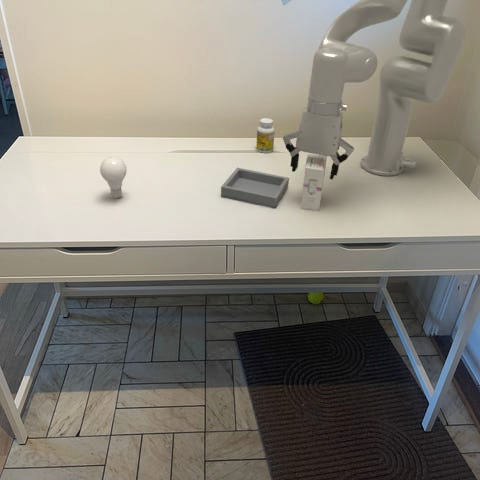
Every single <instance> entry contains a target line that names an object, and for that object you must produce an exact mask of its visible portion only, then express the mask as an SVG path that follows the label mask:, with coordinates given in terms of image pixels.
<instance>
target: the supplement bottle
mask: <svg viewBox="0 0 480 480" xmlns="http://www.w3.org/2000/svg"><path fill="white" fill-rule="evenodd" d="M273 123H274V120H273V119H272V118H268V117H267V118H266V117H263V118H261V119H260V120H259V125H258V127H257V129H256V151H257V152H259V153H264V154H268V153H271V152H273V151H274V147H275V146H274V143H275V131H276V130H275V127H274V126H273V125H274V124H273Z"/></svg>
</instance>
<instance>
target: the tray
mask: <svg viewBox="0 0 480 480" xmlns="http://www.w3.org/2000/svg"><path fill="white" fill-rule="evenodd" d="M289 182H290V177H287V176H282V175H276V174H271V173H266V172H261V171H257V170H250V169H245V168H242V167H237V168H235V169H234V171H233V172H232V173H231V174H230V175H229V177H228V178H227V179H226V180H225V182H224V183H223V184H222V185H221V186H220V197H221V198H224V199H229V200H234V201H239V202H243V203H249V204H252V205H258V206H262V207H267V208H269V209H270V208H271V209H277V207H278V205H279V204H280V202H281V201H282V199H283V197H284V195H285V194H286V192H287V190H288V189H289Z"/></svg>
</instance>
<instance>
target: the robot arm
mask: <svg viewBox="0 0 480 480" xmlns="http://www.w3.org/2000/svg"><path fill="white" fill-rule="evenodd" d="M448 1H449V0H411V1H410V5H409V8H408V10H407V13H406V16H405V19H404V21H403V25H402V26H401V27H402V28H401V31H400V35H399V39H398V41H399V45H400V47H401V48H402V49H403V50H405V51H407V52H411V53H414V54H418V55H422V56H426V57H430V58H432V61H431V62H429V61H425V60H421V59H418V58H413V57H410V56H407V55H405V56H404V55H394V56H392V57H389V58H388V59H387V60H386V61H385V62H384V63H383V65H382V67H381V69H380V72H379V92H378V93H379V94H378V102H377V107H376V111H375V116H374V120H373V126H372V131H371V135H370V140H369V145H368V151H367V155H365V156H363V157H361V159H360V163H359V164H360V166H361V167H362V169H364V170H365V171H367V172H369V173H371V174H373V175H379V176H383V177H385V176H387V177H390V176H397V175H400V174H401V173H403V171H404V168H405V167H406V168H410V169H413V170H414V169H416V165H417V161H412V160H413V158H409V157H405V156H403V155H404V151H403V150H404V146H405V142H406V138H407V135H408V129H409V125H410V123H411V118H412V113H413V106H412V102H411V101H412V100H415V101H419V102H422V103H427V104H433V103H436V102H437V101H439V100H440V98H442V96H443V94H444V93H445V90H446V89H447V86H448V84H449V82H450V80H451V78H452V74H453V72H454V69H455V68H456V64H457V62H458V59H459V57H460V55H461V52H462V50H463V46H464V43H465V40H466V35H467V34H466V30H467V29H466V25H465V23H464V21H462V20H460V19H458V18H455V17H451V16H445V15H444V13H445V10H446V6H447V4H448ZM407 2H408V0H358V2H356V3H354V4H353V5H351V6H349V8H347V9H346V10H345V11H343V12H342V13H341V14H340V15H338V16H337V18H335V19H334V20H333V22H332V23H330V24H331V25H330V26H329V28H328V29H327V31H326V33H325V35H324V36H323V39H321V42H320V44H319V46H318V49H317V50H316V51H315V52H314V55H313V60H312V68H311V74H310V75H311V76H310V81H309V90H308V97H307V105H306V107H304V110H303V112H302V115H301V118H300V120H299V127H298V130H296V131H293V132H289V133H286V134H284V135H283V137H282V140H283V143H284V145H285V149H287V151H288V152H289V155H290V157H291V158H290V167H291V172H292V173H293V172H296V171H297V169H298V166H299V160H300V152H304V153H308V154H316V155H324V156H325V155H326V156H327V157H330V159H331V160H332V161H333V162H332V165H331V169H330V173H329V174H330V175H329V179H330V180H333V179H334V177H335V176H338V172H339V167H340V164H341V163H342V164H343V162H345V161H346V160H348V158H349V157H350V156H351V155H352V154H353V152H354V150H355V147H354V146H352V145H351V144H349V143H348V142H347V141H345V140H344V139H343V138H342V133H343V120H344V117H343V112H344V111H347V108H348V104H344V103H343V100H342V99H343V98H342V97H343V93H344V87H345V86H344V85H345V84H346V83H347V84H349V83H354V84H355V83H358V84H359V83H362V82H366V81H368V80H369V79H370V78H372V77H373V75H374V74H375V72H376V70H377V68H378V57H377V54H376V53H375V52H374V51H373V50H371V49H370V48H367V47H366V46H365V47H364V46H360V45H357V44H353V43H350V42H347V41H348V40H349V38H351V37H353V35H354V34H355V33H357V32H358V31H361V30H362V29H365V28H368V27H370V26H371V27H372V26H374V25H378V24H381V23H385V22H388V21H389V22H390V21H391V20H394V19H396V18H398V17H399V16H400V14H401V13H402V11H403V9H404V8H405V6H406V4H407ZM411 99H412V100H411ZM341 111H342V112H341ZM293 139H296V141H295V146H294V144H293V143H292V142H291V140H293ZM340 147H341V148H342V149H344V150H345V152H344V153H342V154H341V155H340V153H339V149H340Z"/></svg>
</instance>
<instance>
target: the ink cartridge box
mask: <svg viewBox="0 0 480 480" xmlns="http://www.w3.org/2000/svg"><path fill="white" fill-rule="evenodd" d="M327 158H328V156H326V155H325V156H324V155H318V154H313V153H308V154H307V156H306V162H305V166H304V174H303V175H304V176H303V185H302V186H303V187H302V196H301V204H300V209H303V210H309V211H310V210H311V211H320V207H321V201H322V194H323V186H324V181H325V174H326V166H327Z"/></svg>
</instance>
